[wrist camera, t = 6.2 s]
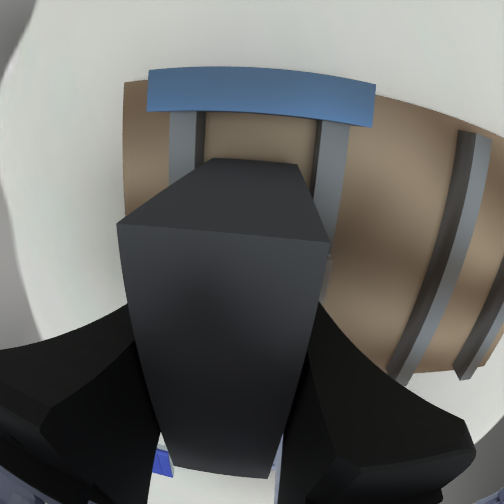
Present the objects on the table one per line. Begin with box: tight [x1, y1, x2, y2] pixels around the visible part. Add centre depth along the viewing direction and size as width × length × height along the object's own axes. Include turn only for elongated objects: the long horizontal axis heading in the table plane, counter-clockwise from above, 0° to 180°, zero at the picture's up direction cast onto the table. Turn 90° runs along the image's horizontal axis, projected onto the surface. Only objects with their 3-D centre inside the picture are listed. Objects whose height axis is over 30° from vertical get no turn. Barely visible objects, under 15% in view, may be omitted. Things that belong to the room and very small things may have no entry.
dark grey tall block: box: [116, 158, 330, 479], centre depth 9 cm, size 8×3×7 cm, turn 176°
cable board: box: [123, 67, 504, 386], centre depth 12 cm, size 15×24×3 cm, turn 86°
